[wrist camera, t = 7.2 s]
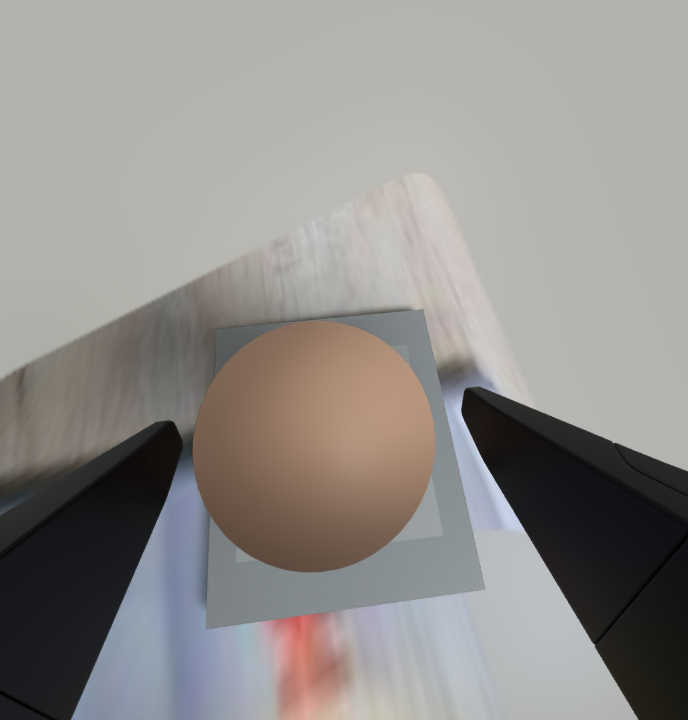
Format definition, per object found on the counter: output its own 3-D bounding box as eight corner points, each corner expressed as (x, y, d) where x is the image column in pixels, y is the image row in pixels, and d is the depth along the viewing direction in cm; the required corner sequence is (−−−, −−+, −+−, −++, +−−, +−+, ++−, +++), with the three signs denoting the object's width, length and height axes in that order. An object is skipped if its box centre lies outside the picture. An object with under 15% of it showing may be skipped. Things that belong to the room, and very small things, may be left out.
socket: (476, 580, 15) (523, 626, 11) (214, 617, 14) (168, 679, 10) (419, 316, 20) (438, 284, 16) (222, 334, 19) (192, 306, 15)
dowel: (355, 489, 15) (400, 617, 4) (288, 465, 16) (144, 515, 4) (375, 420, 16) (456, 358, 5) (313, 399, 17) (254, 295, 5)
